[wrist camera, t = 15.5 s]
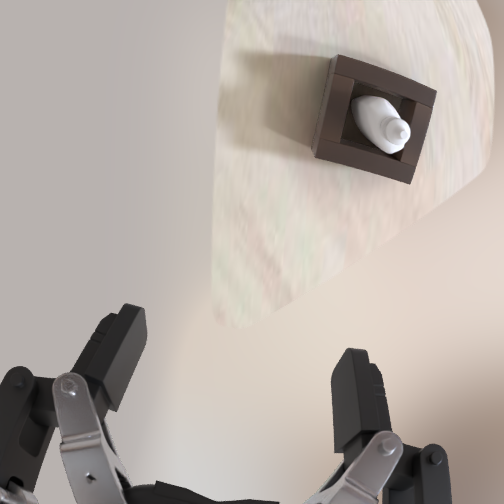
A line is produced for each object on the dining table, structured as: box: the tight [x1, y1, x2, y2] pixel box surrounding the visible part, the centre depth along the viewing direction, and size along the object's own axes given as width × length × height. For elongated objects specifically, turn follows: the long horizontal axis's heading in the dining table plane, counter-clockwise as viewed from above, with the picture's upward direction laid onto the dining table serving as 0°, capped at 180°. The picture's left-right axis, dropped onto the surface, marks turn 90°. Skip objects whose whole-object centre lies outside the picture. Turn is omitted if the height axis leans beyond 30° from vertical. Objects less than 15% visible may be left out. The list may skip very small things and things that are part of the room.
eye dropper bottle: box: [351, 95, 411, 154], centre depth 26 cm, size 4×6×12 cm
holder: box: [311, 54, 437, 184], centre depth 29 cm, size 12×12×4 cm
